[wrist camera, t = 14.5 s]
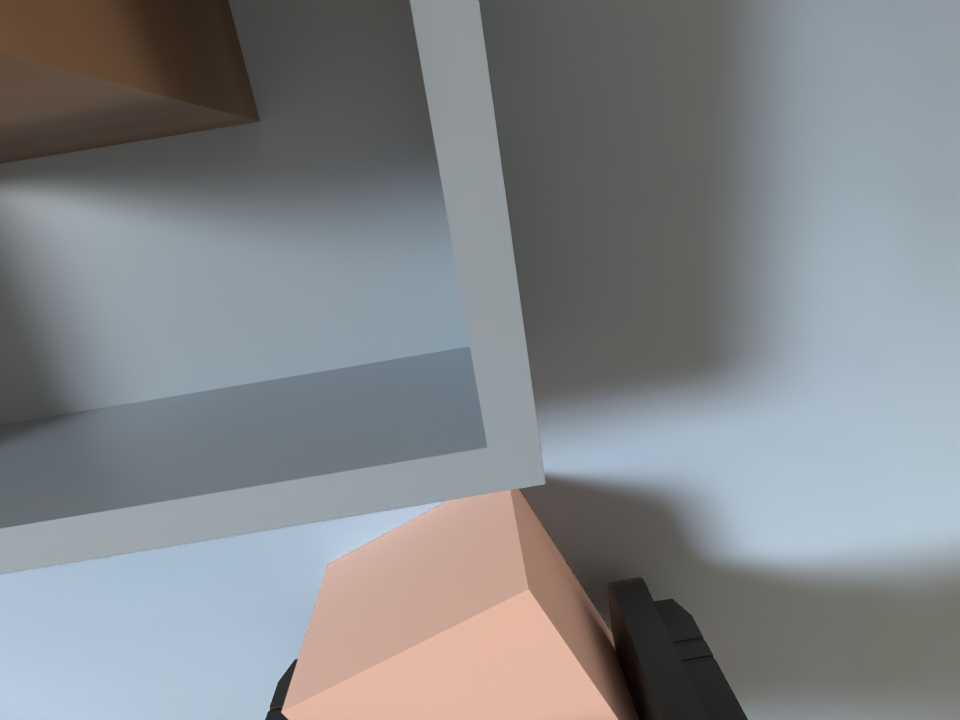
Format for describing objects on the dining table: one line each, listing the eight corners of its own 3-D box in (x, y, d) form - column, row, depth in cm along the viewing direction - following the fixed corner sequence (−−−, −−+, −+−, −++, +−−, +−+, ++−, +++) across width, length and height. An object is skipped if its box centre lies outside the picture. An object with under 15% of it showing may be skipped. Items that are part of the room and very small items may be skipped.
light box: (466, 731, 14) (470, 905, 11) (327, 564, 12) (280, 712, 9) (626, 655, 13) (684, 815, 10) (506, 469, 12) (528, 588, 8)
